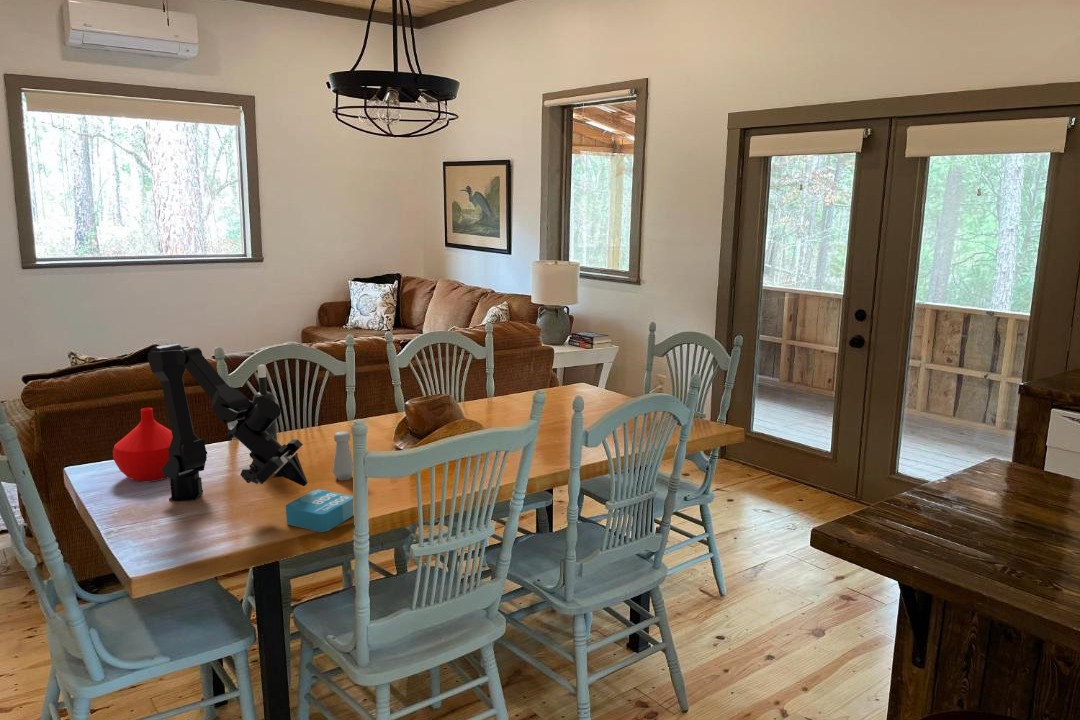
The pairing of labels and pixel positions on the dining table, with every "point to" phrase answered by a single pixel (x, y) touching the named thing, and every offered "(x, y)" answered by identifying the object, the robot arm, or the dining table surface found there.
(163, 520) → the dining table surface
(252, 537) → the dining table surface
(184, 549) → the dining table surface
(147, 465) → the vase
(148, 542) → the dining table surface
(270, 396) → the wine bottle
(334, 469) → the salt shaker
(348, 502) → the data package
